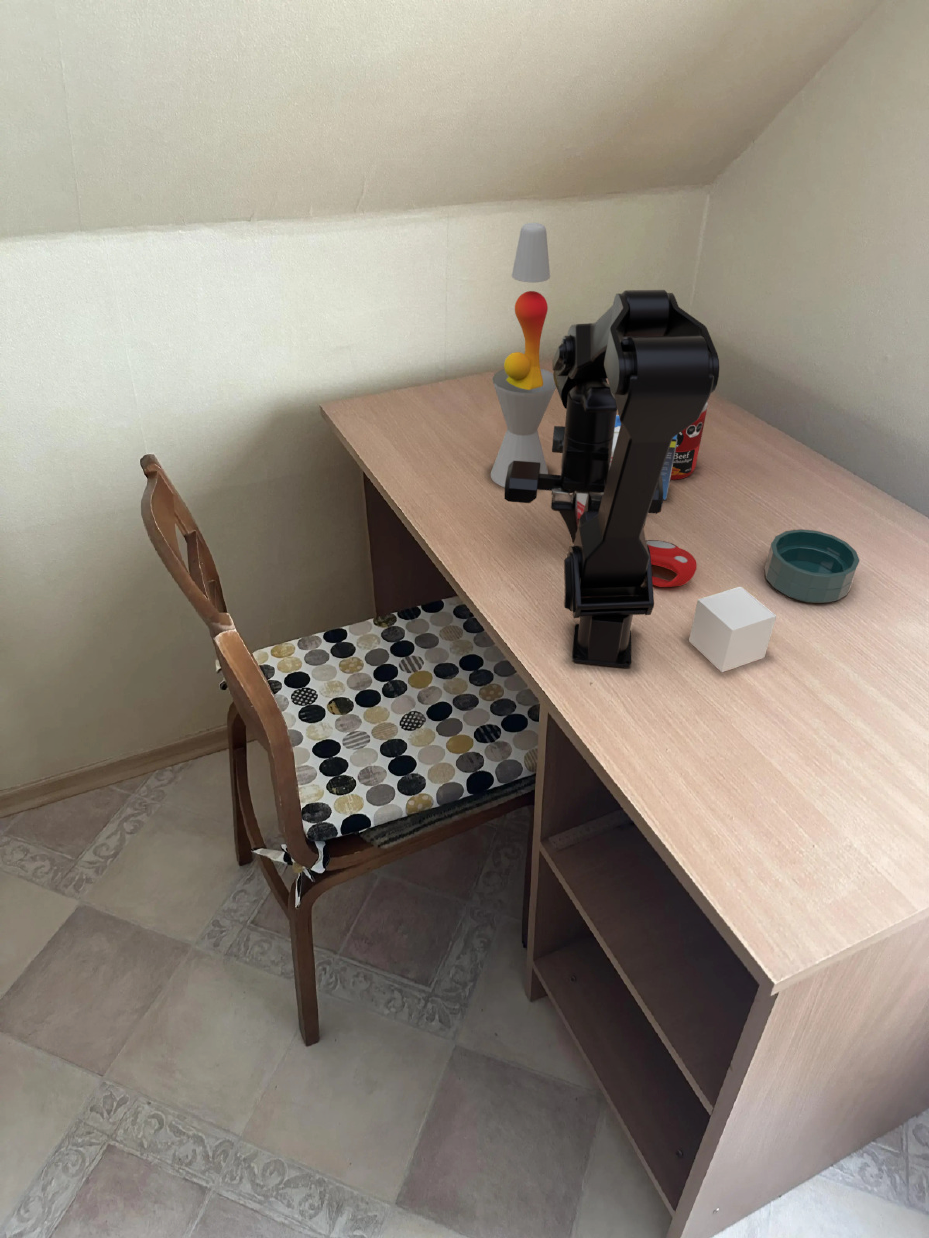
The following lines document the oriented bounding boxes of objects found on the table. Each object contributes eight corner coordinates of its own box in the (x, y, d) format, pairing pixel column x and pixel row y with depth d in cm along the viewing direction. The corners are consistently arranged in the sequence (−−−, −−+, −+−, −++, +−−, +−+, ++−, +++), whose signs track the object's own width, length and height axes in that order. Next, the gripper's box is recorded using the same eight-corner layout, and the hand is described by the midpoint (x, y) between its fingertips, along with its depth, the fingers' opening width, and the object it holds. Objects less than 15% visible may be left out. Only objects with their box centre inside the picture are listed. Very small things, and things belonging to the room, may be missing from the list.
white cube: (721, 672, 98) (732, 630, 95) (688, 641, 103) (697, 599, 99) (764, 657, 101) (776, 615, 97) (730, 627, 105) (740, 585, 101)
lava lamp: (526, 455, 137) (541, 212, 116) (562, 480, 131) (585, 229, 110) (477, 470, 133) (483, 221, 112) (512, 496, 127) (525, 239, 106)
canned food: (639, 475, 133) (649, 406, 126) (648, 451, 139) (658, 384, 132) (691, 484, 131) (704, 415, 124) (698, 460, 137) (711, 392, 130)
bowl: (855, 610, 108) (866, 580, 105) (768, 602, 109) (777, 571, 106) (840, 562, 116) (850, 533, 113) (759, 555, 117) (767, 526, 114)
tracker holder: (662, 532, 118) (716, 553, 110) (657, 564, 120) (709, 587, 112) (589, 535, 113) (640, 558, 104) (584, 569, 114) (634, 594, 106)
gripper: (667, 408, 109) (649, 518, 119) (515, 398, 111) (510, 506, 121) (671, 451, 101) (652, 565, 110) (506, 438, 102) (501, 552, 112)
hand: (577, 545), depth 114 cm, fingers closed
